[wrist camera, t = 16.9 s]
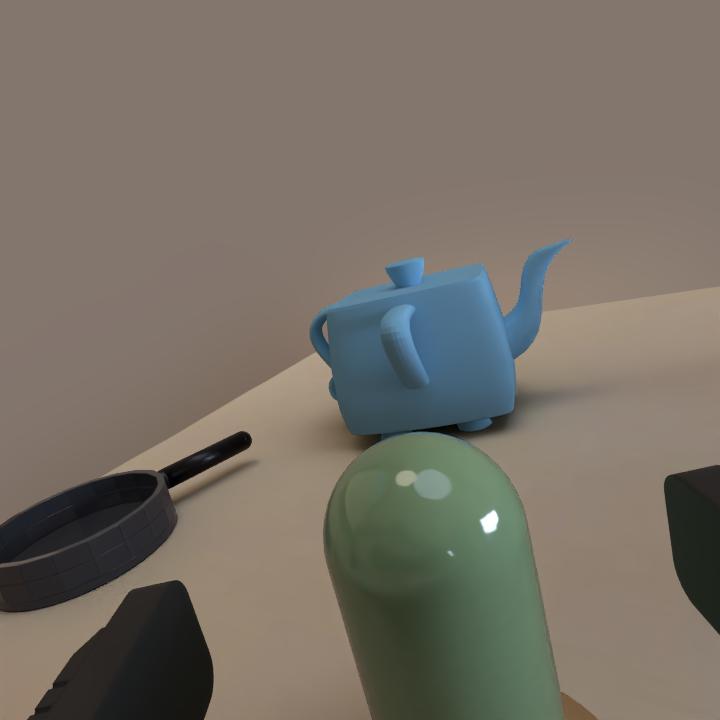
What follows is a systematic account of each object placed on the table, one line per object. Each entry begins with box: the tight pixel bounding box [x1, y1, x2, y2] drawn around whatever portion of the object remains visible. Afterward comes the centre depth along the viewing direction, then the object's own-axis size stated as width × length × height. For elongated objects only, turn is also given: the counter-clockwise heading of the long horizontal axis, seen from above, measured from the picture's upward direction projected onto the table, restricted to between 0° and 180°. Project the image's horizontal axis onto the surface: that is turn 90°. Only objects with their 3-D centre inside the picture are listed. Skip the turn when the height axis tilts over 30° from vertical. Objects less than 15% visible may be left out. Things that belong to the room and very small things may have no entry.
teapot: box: [310, 239, 572, 440], centre depth 45 cm, size 18×16×14 cm
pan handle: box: [158, 431, 252, 489], centre depth 43 cm, size 9×2×2 cm, turn 134°
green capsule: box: [323, 432, 566, 720], centre depth 13 cm, size 5×5×10 cm
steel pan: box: [0, 470, 177, 612], centre depth 37 cm, size 12×12×3 cm
